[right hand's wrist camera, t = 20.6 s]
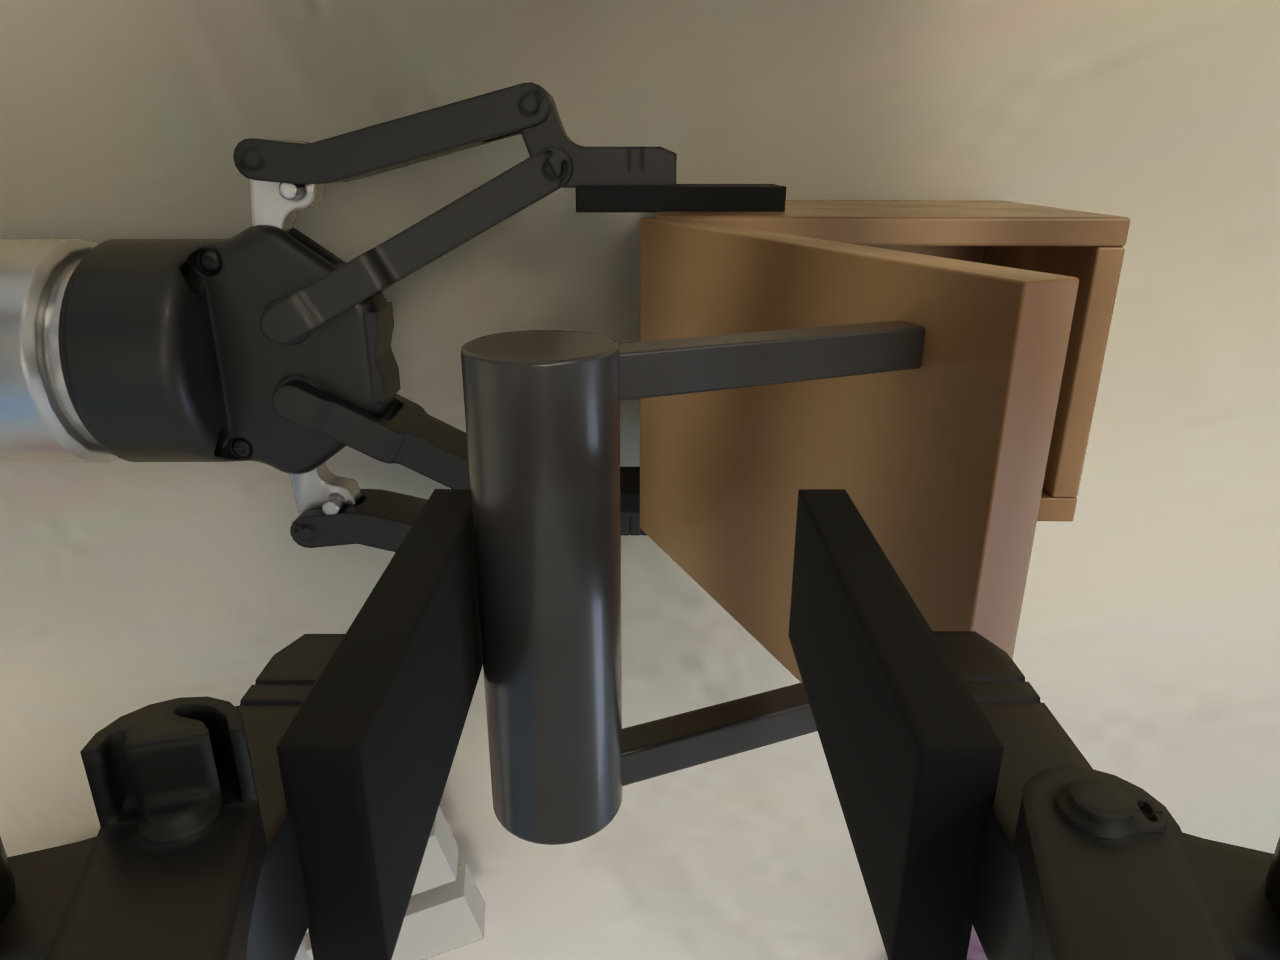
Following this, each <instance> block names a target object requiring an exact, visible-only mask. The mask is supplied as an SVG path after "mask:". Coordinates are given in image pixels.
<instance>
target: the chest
mask: <svg viewBox="0 0 1280 960" xmlns="http://www.w3.org/2000/svg"><path fill="white" fill-rule="evenodd" d="M664 217H676V218H682V219H689V220H696V221H702V222H709V223H716V224H722V225H729V226H736V227H743V228H749V229H756V230H763V231H769V232H776V233H783V234H789V235H796V236H803V237H810V238H816V239H823V240H830V241H836V242H843V243H850V244H856V245H863V246H870V247H877V248H883V249H890V250H897V251H903V252H910V253H917V254H923V255H930V256H937V257H943V258H950V259H957V260H964V261H970V262H977V263H984V264H990V265H997V266H1004V267H1010V268H1017V269H1024V270H1031V271H1037V272H1044V273H1051V274H1057V275H1064V276H1071V277H1076V278H1078V279H1079V284H1078V290H1077V296H1076V301H1075V307H1074V313H1073V318H1072V324H1071V330H1070V335H1069V341H1068V347H1067V352H1066V358H1065V364H1064V369H1063V375H1062V381H1061V386H1060V392H1059V397H1058V403H1057V409H1056V414H1055V420H1054V426H1053V431H1052V437H1051V443H1050V448H1049V454H1048V460H1047V465H1046V471H1045V477H1044V482H1043V488H1042V494H1041V499H1040V505H1039V511H1038V516H1037V521H1073V518H1074V513H1075V508H1076V502H1077V498H1076V497H1077V495H1078V489H1079V484H1080V479H1081V474H1082V469H1083V463H1084V458H1085V453H1086V448H1087V443H1088V438H1089V432H1090V427H1091V422H1092V417H1093V412H1094V406H1095V401H1096V396H1097V391H1098V386H1099V380H1100V375H1101V370H1102V365H1103V360H1104V354H1105V349H1106V344H1107V339H1108V334H1109V328H1110V323H1111V318H1112V313H1113V308H1114V302H1115V297H1116V292H1117V287H1118V282H1119V276H1120V271H1121V266H1122V261H1123V256H1124V250H1125V249H1124V247H1122V246H1124V245H1125V244H1126V239H1127V234H1128V229H1129V224H1130V219H1129V218H1127V217H1120V216H1112V215H1105V214H1097V213H1090V212H1082V211H1075V210H1067V209H1060V208H1052V207H1045V206H1037V205H1030V204H1022V203H1015V202H1008V201H883V200H785V212H742V211H660V212H657V218H664Z"/></svg>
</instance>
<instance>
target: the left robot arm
mask: <svg viewBox="0 0 1280 960" xmlns="http://www.w3.org/2000/svg"><path fill="white" fill-rule="evenodd" d="M518 134H522V136H523V139H524V141H525V144H526V147H527V149H528V152H529V154H530V157H529V158H528V159H526V160H524V161H523V162H521V163H519V164H517V165H516V166H514V167H512V168H511V169H509V170H507V171H505V172H504V173H502V174H500V175H499V176H497V177H495V178H493V179H492V180H490V181H488V182H487V183H485V184H483V185H481V186H480V187H478V188H476V189H475V190H473V191H471V192H469V193H468V194H466V195H464V196H463V197H461V198H459V199H457V200H456V201H454V202H452V203H451V204H449V205H447V206H445V207H444V208H442V209H440V210H439V211H437V212H435V213H433V214H432V215H430V216H428V217H427V218H425V219H423V220H421V221H420V222H418V223H416V224H415V225H413V226H411V227H409V228H408V229H406V230H404V231H403V232H401V233H399V234H397V235H396V236H394V237H392V238H391V239H389V240H387V241H385V242H384V243H382V244H380V245H379V246H377V247H375V248H373V249H371V250H369V251H367V252H365V253H363V254H362V255H360V256H358V257H356V258H355V259H353V260H351V261H349V262H348V263H345V262H344V261H343V260H341V259H340V258H338V257H337V256H335V255H334V254H332V253H331V252H329V251H328V250H326V249H325V248H323V247H322V246H320V245H319V244H317V243H316V242H315V241H313V240H312V239H310V238H309V237H307V236H306V235H304V234H303V233H301V232H300V231H298V230H297V229H295V228H293V222H294V218H295V216H296V214H297V213H298V212H299V211H301V210H302V209H304V208H310V207H315V206H316V205H318V204H319V203H320V202H321V201H322V200H323V197H324V193H325V183H335V182H345V181H351V180H356V179H360V178H364V177H367V176H371V175H375V174H378V173H382V172H385V171H389V170H393V169H396V168H400V167H403V166H407V165H411V164H414V163H418V162H421V161H425V160H428V159H432V158H436V157H439V156H443V155H446V154H450V153H454V152H457V151H461V150H464V149H468V148H471V147H475V146H479V145H482V144H486V143H489V142H493V141H497V140H500V139H504V138H507V137H511V136H515V135H518ZM233 158H234V162H235V166H236V167H237V169H238V170H239V172H240V173H241V174H243V175H244V176H245V177H246V178H249V179H250V194H251V212H252V227H250V228H248V229H246V230H244V231H243V232H241V233H240V234H238V235H236V236H235V237H232V238H230V239H113V240H108V241H105V242H102V243H101V244H97V243H94V242H91V241H88V240H85V239H0V462H109V461H112V460H115V459H117V458H121V459H124V460H126V461H132V462H229V461H247V460H248V461H257V462H262V463H265V464H268V465H270V466H273V467H274V468H276V469H278V470H281V471H283V472H286V473H289V475H290V479H291V483H292V487H293V491H294V494H295V498H296V502H297V506H298V510H299V516H298V518H297V519H296V520H295V521H294V522H293V523H292V526H291V528H290V529H291V536H292V538H293V540H294V541H295V542H296V543H297V544H299V545H301V546H303V547H308V548H314V547H325V546H336V545H346V544H362V545H366V546H371V547H375V548H380V549H384V550H389V551H393V552H397V550H398V548H399V547H400V545H401V544H402V542H403V540H404V539H405V537H406V535H407V534H408V532H409V531H410V529H411V527H412V526H413V524H414V522H415V521H416V519H417V518H418V516H419V514H420V513H421V511H422V509H423V508H424V506H425V505H426V503H427V501H428V500H426V499H422V498H417V497H413V496H409V495H404V494H400V493H396V492H391V491H385V490H377V489H360V488H359V486H358V483H357V481H355V480H354V479H352V478H347V477H340V476H337V475H334V474H333V473H331V472H330V471H329V470H328V468H327V467H326V465H325V462H326V461H327V460H328V459H330V458H331V457H332V456H333V455H335V454H336V453H337V452H339V451H340V450H341V449H343V448H344V447H345V446H349V447H351V448H353V449H355V450H358V451H360V452H362V453H364V454H366V455H368V456H370V457H372V458H374V459H377V460H379V461H381V462H384V463H397V464H401V465H403V466H405V467H407V468H409V469H412V470H414V471H416V472H418V473H420V474H422V475H424V476H426V477H428V478H431V479H433V480H435V481H437V482H439V483H441V484H443V485H445V486H447V487H449V488H452V489H471V487H470V473H469V459H468V445H467V433H465V432H463V431H461V430H458V429H456V428H454V427H452V426H450V425H448V424H446V423H444V422H442V421H440V420H438V419H436V418H434V417H432V416H430V415H428V414H427V413H426V412H425V410H424V409H423V408H422V407H421V406H419V405H418V404H416V403H414V402H412V401H410V400H408V399H406V398H404V397H402V396H400V395H398V394H396V393H397V392H398V391H399V390H400V379H399V369H398V365H397V363H396V360H395V357H394V355H393V352H392V349H391V339H392V333H393V327H394V318H393V308H392V302H387V301H386V299H385V297H384V295H383V293H382V292H381V291H382V290H384V289H385V288H387V287H389V286H391V285H392V284H394V283H396V282H398V281H399V280H401V279H403V278H405V277H406V276H408V275H410V274H411V273H413V272H415V271H417V270H418V269H420V268H422V267H424V266H425V265H427V264H429V263H431V262H432V261H434V260H436V259H438V258H439V257H441V256H443V255H444V254H446V253H448V252H450V251H451V250H453V249H455V248H457V247H458V246H460V245H462V244H464V243H465V242H467V241H469V240H471V239H472V238H474V237H476V236H478V235H479V234H481V233H483V232H485V231H486V230H488V229H490V228H492V227H493V226H495V225H497V224H499V223H500V222H502V221H504V220H506V219H507V218H509V217H511V216H512V215H514V214H516V213H518V212H519V211H521V210H523V209H525V208H526V207H528V206H530V205H532V204H533V203H535V202H537V201H539V200H540V199H542V198H544V197H546V196H547V195H549V194H551V193H553V192H554V191H556V190H558V189H560V188H576V212H660V211H742V212H785V199H786V187H785V186H780V185H775V184H676V153H674V152H671V151H669V150H667V149H664V148H662V147H583V146H579V145H577V144H575V143H574V142H573V141H571V140H570V138H569V137H568V136H567V134H566V132H565V130H564V128H563V125H562V122H561V120H560V117H559V114H558V111H557V109H556V105H555V101H554V99H553V97H552V96H551V95H550V94H549V93H548V92H547V91H546V90H545V89H543V88H542V87H541V86H539V85H537V84H534V83H522V84H519V85H515V86H512V87H508V88H505V89H501V90H498V91H494V92H490V93H487V94H483V95H480V96H476V97H473V98H469V99H466V100H462V101H459V102H455V103H452V104H448V105H445V106H441V107H438V108H434V109H431V110H427V111H423V112H420V113H416V114H413V115H409V116H406V117H402V118H399V119H395V120H392V121H388V122H385V123H381V124H378V125H374V126H371V127H367V128H363V129H360V130H356V131H353V132H349V133H346V134H342V135H339V136H335V137H332V138H328V139H325V140H321V141H318V142H314V143H308V142H298V141H289V140H275V139H253V138H252V139H244V140H243V141H241V142H239V143H238V145H237V146H236V148H235V149H234V157H233ZM620 535H647V534H646V533H645V532H644V531H643V530H642V529H641V528H640V467H620Z"/></svg>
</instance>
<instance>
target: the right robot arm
mask: <svg viewBox="0 0 1280 960" xmlns="http://www.w3.org/2000/svg"><path fill="white" fill-rule="evenodd" d="M788 636H789V639H790V643H791V646H792V649H793V652H794V656H795V659H796V662H797V665H798V669H799V672H800V675H801V678H802V681H803V685H804V688H805V691H806V694H807V698H808V701H809V704H810V707H811V711H812V714H813V717H814V720H815V723H816V727H817V730H818V733H819V736H820V740H821V743H822V746H823V749H824V753H825V756H826V759H827V762H828V765H829V769H830V772H831V775H832V778H833V782H834V785H835V788H836V791H837V795H838V798H839V801H840V804H841V807H842V811H843V814H844V817H845V820H846V824H847V827H848V830H849V833H850V837H851V840H852V843H853V846H854V850H855V853H856V856H857V859H858V862H859V866H860V869H861V872H862V875H863V879H864V882H865V885H866V888H867V892H868V895H869V898H870V901H871V904H872V908H873V911H874V914H875V917H876V921H877V924H878V927H879V930H880V934H881V937H882V940H883V943H884V946H885V950H886V953H887V956H888V959H889V960H966V959H967V954H968V948H969V942H970V937H971V931H972V926H973V927H974V929H975V932H976V934H977V936H978V938H979V941H980V943H981V945H982V948H983V950H984V952H985V955H986V957H987V959H988V960H1280V838H1279V841H1278V844H1277V847H1276V850H1275V853H1274V854H1271V853H1267V852H1262V851H1258V850H1253V849H1248V848H1244V847H1239V846H1235V845H1230V844H1226V843H1221V842H1217V841H1212V840H1207V839H1203V838H1200V837H1196V836H1193V835H1189V834H1186V833H1182V832H1181V829H1180V827H1179V825H1178V824H1177V823H1176V821H1175V820H1174V818H1173V817H1172V816H1171V814H1170V813H1169V811H1168V810H1167V809H1166V807H1165V806H1164V805H1162V804H1161V803H1160V802H1159V801H1157V800H1156V799H1155V798H1153V797H1152V796H1151V795H1150V794H1148V793H1147V792H1146V791H1144V790H1143V789H1142V788H1140V787H1138V786H1136V785H1133V784H1131V783H1129V782H1127V781H1125V780H1123V779H1121V778H1119V777H1117V776H1115V775H1112V774H1108V773H1104V772H1100V771H1096V770H1093V769H1092V767H1091V766H1090V765H1089V763H1088V762H1087V760H1086V759H1085V758H1084V756H1083V755H1082V754H1081V752H1080V751H1079V750H1078V748H1077V747H1076V746H1075V744H1074V743H1073V741H1072V740H1071V739H1070V737H1069V736H1068V735H1067V733H1066V732H1065V731H1064V729H1063V728H1062V727H1061V725H1060V724H1059V723H1058V721H1057V720H1056V718H1055V717H1054V716H1053V714H1052V713H1051V712H1050V710H1049V709H1048V708H1047V706H1046V705H1045V704H1044V703H1041V702H1040V697H1039V695H1038V694H1037V693H1036V691H1035V690H1034V689H1033V687H1032V686H1031V685H1030V683H1029V682H1025V677H1024V675H1023V674H1022V672H1021V671H1020V670H1019V668H1018V667H1017V666H1016V664H1015V663H1014V662H1013V660H1012V659H1011V658H1010V656H1009V655H1008V654H1007V652H1005V651H1004V650H1002V649H1001V648H999V647H998V646H996V645H995V644H993V643H992V642H990V641H989V640H988V639H986V638H985V637H983V636H982V635H980V634H979V633H977V632H976V631H932V630H931V628H930V626H929V625H928V623H927V621H926V620H925V618H924V617H923V615H922V613H921V612H920V610H919V608H918V607H917V605H916V604H915V602H914V600H913V599H912V597H911V595H910V594H909V592H908V591H907V589H906V587H905V586H904V584H903V582H902V581H901V579H900V578H899V576H898V574H897V573H896V571H895V569H894V568H893V566H892V565H891V563H890V561H889V560H888V558H887V557H886V555H885V553H884V552H883V550H882V548H881V547H880V545H879V544H878V542H877V540H876V539H875V537H874V535H873V534H872V532H871V531H870V529H869V527H868V526H867V524H866V522H865V521H864V519H863V518H862V516H861V514H860V513H859V511H858V509H857V508H856V506H855V505H854V503H853V501H852V500H851V498H850V496H849V495H848V493H847V492H846V490H845V489H798V504H797V519H796V533H795V548H794V562H793V577H792V592H791V606H790V621H789V635H788ZM482 665H483V655H482V641H481V627H480V613H479V599H478V585H477V571H476V557H475V543H474V529H473V515H472V501H471V489H435V490H434V492H433V493H432V495H431V496H430V498H429V500H428V501H427V503H426V505H425V506H424V508H423V509H422V511H421V513H420V514H419V516H418V518H417V519H416V521H415V522H414V524H413V526H412V527H411V529H410V531H409V532H408V534H407V535H406V537H405V539H404V540H403V542H402V544H401V545H400V547H399V548H398V550H397V552H396V553H395V555H394V557H393V558H392V560H391V561H390V563H389V565H388V566H387V568H386V569H385V571H384V573H383V574H382V576H381V578H380V579H379V581H378V582H377V584H376V586H375V587H374V589H373V591H372V592H371V594H370V595H369V597H368V599H367V600H366V602H365V604H364V605H363V607H362V608H361V610H360V612H359V613H358V615H357V617H356V618H355V620H354V621H353V623H352V625H351V626H350V628H349V630H348V631H347V633H346V634H304V635H303V636H301V637H300V638H299V639H297V640H296V641H294V642H293V643H291V644H290V645H288V646H287V647H285V648H284V649H282V650H281V651H279V652H278V653H276V654H275V655H274V656H273V657H272V658H271V660H270V661H269V663H268V664H267V665H266V667H265V668H264V669H263V671H262V672H261V673H260V675H259V676H258V677H257V679H256V684H255V685H252V686H251V687H250V688H249V690H248V691H247V692H246V694H245V695H244V697H243V698H242V699H241V704H240V706H236V707H235V706H233V705H232V704H231V703H230V702H228V701H223V700H219V699H215V698H211V697H188V698H177V699H173V700H168V701H164V702H160V703H155V704H151V705H148V706H146V707H143V708H141V709H139V710H136V711H134V712H131V713H129V714H127V715H124V716H122V717H120V718H118V719H117V720H115V721H114V722H112V723H111V724H109V725H108V726H106V727H105V728H103V729H102V730H100V731H99V732H97V733H96V734H95V735H94V736H93V738H92V739H91V740H90V741H89V742H88V744H87V745H86V746H85V747H84V748H83V750H82V751H81V756H82V760H83V763H84V767H85V771H86V774H87V778H88V782H89V785H90V789H91V793H92V796H93V800H94V804H95V807H96V811H97V815H98V818H99V822H100V826H101V829H100V831H99V833H98V835H97V837H94V838H90V839H87V840H83V841H80V842H76V843H72V844H67V845H63V846H58V847H54V848H49V849H45V850H40V851H35V852H31V853H26V854H22V855H17V856H13V857H8V858H7V856H6V853H5V850H4V847H3V844H2V841H1V838H0V960H294V959H295V957H296V955H297V952H298V950H299V948H300V945H301V943H302V941H303V938H304V936H305V934H306V931H307V929H308V931H309V937H310V942H311V948H312V954H313V959H314V960H391V959H392V956H393V953H394V950H395V946H396V943H397V940H398V937H399V934H400V930H401V927H402V924H403V921H404V917H405V914H406V911H407V908H408V904H409V901H410V898H411V895H412V892H413V888H414V885H415V882H416V879H417V875H418V872H419V869H420V866H421V862H422V859H423V856H424V853H425V850H426V846H427V843H428V840H429V837H430V833H431V830H432V827H433V824H434V820H435V817H436V814H437V811H438V807H439V804H440V801H441V798H442V795H443V791H444V788H445V785H446V782H447V778H448V775H449V772H450V769H451V765H452V762H453V759H454V756H455V753H456V749H457V746H458V743H459V740H460V736H461V733H462V730H463V727H464V723H465V720H466V717H467V714H468V711H469V707H470V704H471V701H472V698H473V694H474V691H475V688H476V685H477V681H478V678H479V675H480V672H481V668H482Z"/></svg>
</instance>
